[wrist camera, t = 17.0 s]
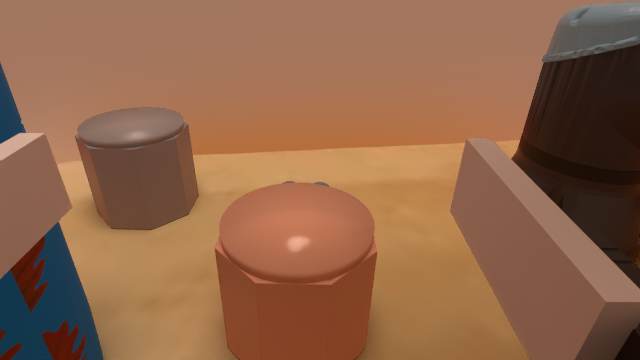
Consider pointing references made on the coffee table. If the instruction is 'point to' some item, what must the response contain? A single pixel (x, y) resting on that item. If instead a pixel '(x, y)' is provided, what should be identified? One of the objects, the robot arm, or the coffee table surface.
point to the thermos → (42, 288)
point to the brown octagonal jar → (139, 166)
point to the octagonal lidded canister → (296, 273)
